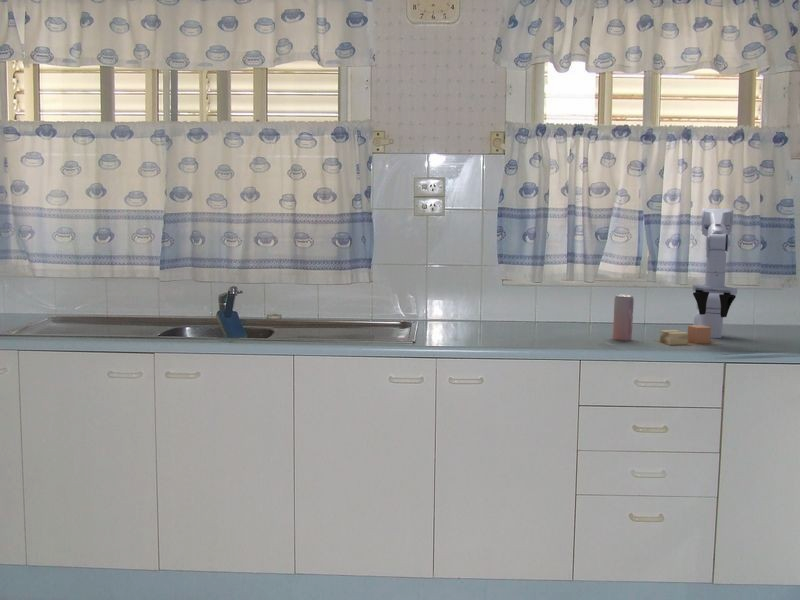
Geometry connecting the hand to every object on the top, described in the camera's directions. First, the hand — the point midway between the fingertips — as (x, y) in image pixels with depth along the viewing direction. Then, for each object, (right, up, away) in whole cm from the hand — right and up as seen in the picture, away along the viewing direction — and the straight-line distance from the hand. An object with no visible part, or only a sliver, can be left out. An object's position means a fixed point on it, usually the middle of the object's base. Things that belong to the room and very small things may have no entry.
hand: (712, 315), depth 260 cm
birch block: (-11, -9, +3) cm, 15 cm away
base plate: (-6, -9, +4) cm, 12 cm away
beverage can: (-26, -9, +9) cm, 29 cm away
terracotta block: (-3, -9, +5) cm, 10 cm away
